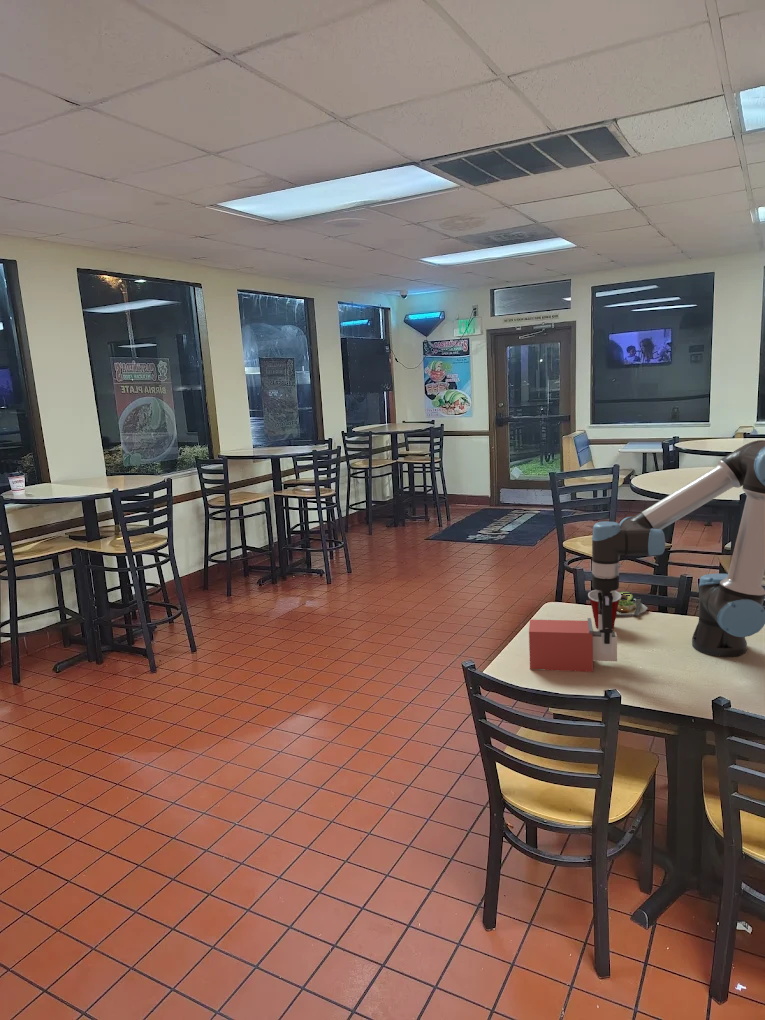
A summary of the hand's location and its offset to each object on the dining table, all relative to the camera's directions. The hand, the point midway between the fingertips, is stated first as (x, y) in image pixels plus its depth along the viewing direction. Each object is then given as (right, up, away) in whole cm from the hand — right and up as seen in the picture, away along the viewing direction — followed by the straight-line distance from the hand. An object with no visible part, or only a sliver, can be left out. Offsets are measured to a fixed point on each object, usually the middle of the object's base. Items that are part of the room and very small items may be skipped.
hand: (604, 643), depth 199 cm
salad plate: (+21, +3, +47) cm, 52 cm away
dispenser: (-12, -7, +4) cm, 14 cm away
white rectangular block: (-5, -5, +2) cm, 7 cm away
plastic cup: (+10, -1, +30) cm, 31 cm away
